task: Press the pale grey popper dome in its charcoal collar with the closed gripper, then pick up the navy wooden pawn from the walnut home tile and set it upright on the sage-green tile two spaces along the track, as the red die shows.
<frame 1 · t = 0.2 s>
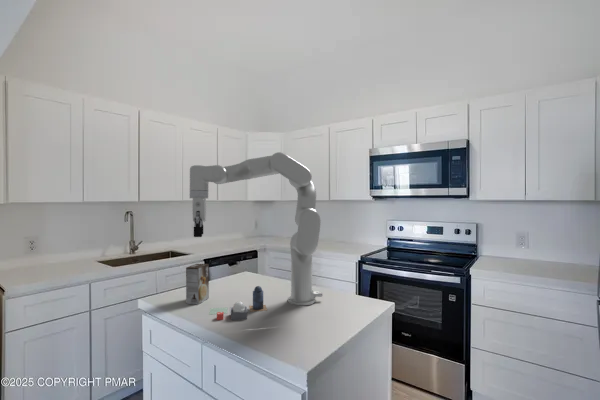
hand: (198, 235, 128), 31 cm above the worktop, tool pointing down, fingers open, 9 cm apart
coffee box: (197, 301, 138), on the worktop
game board: (238, 313, 122), on the worktop
popper dome: (238, 308, 118), point 4 cm above the worktop, slide at 0.0 cm
pawn: (258, 308, 127), resting on game board
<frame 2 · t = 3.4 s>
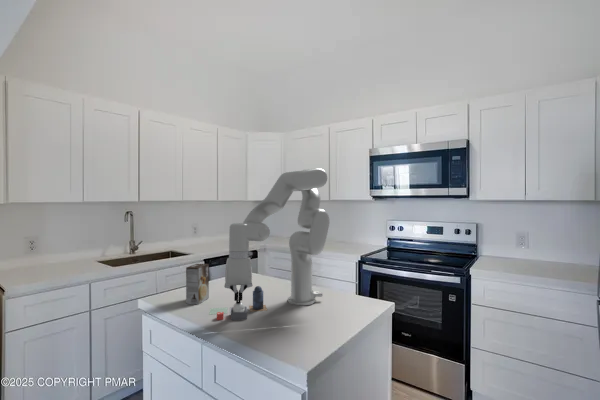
hand: (238, 302, 118), 6 cm above the worktop, tool pointing down, fingers closed
popper dome: (238, 309, 118), point 3 cm above the worktop, slide at 0.3 cm, touching gripper
everything else where it was.
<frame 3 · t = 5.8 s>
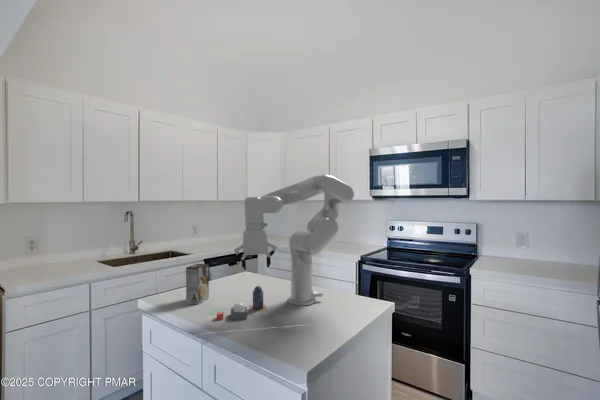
hand: (256, 267, 126), 18 cm above the worktop, tool pointing down, fingers open, 9 cm apart
popper dome: (238, 309, 118), point 3 cm above the worktop, slide at 0.4 cm
everything else where it was.
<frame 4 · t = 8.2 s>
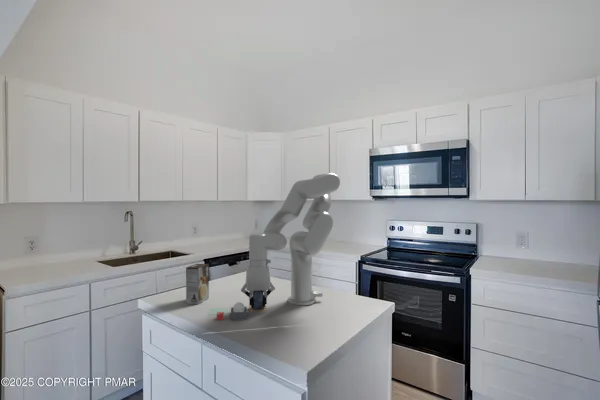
hand: (258, 306, 127), 1 cm above the worktop, tool pointing down, fingers closed on pawn, 4 cm apart
pawn: (258, 308, 127), resting on game board, touching gripper
everything else where it was.
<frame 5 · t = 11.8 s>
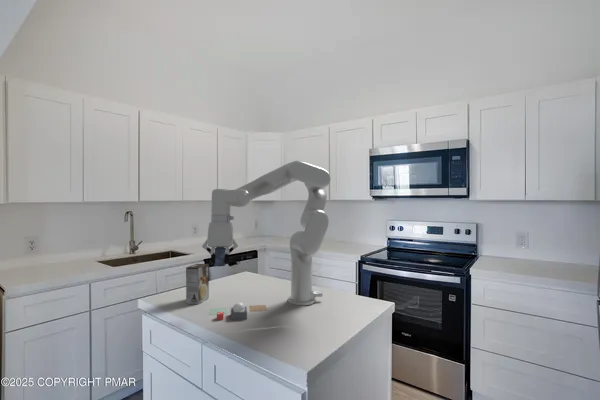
hand: (219, 263, 124), 20 cm above the worktop, tool pointing down, fingers closed on pawn, 4 cm apart
pawn: (219, 265, 124), point 19 cm above the worktop, touching gripper
everything else where it was.
when the fingers open (3 cm above the worktop, at t = 15.4 s): pawn drops 1 cm, resting on game board.
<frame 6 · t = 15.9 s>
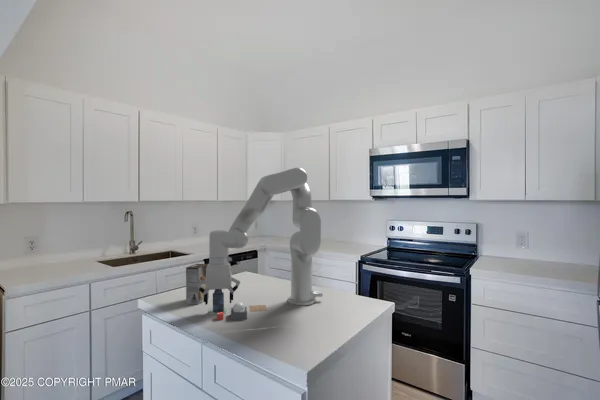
hand: (218, 302, 124), 4 cm above the worktop, tool pointing down, fingers open, 9 cm apart
pawn: (218, 310, 124), resting on game board
everything else where it was.
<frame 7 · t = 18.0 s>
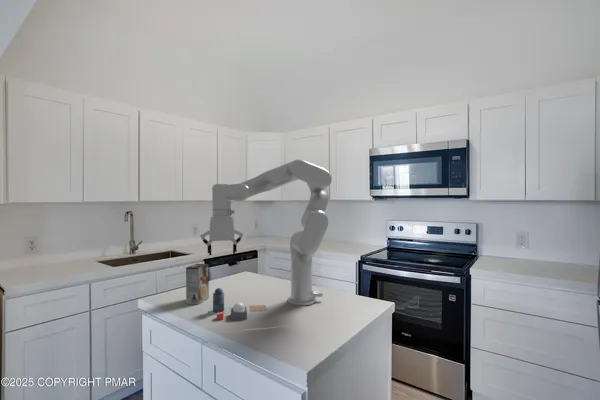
hand: (222, 254, 127), 23 cm above the worktop, tool pointing down, fingers open, 9 cm apart
nothing on the worktop moved.
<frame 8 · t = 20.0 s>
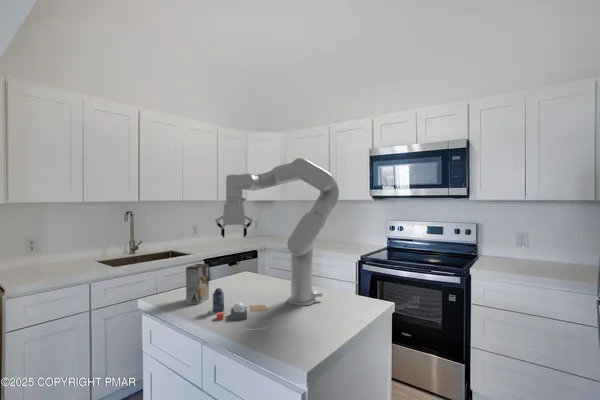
hand: (234, 237, 143), 28 cm above the worktop, tool pointing down, fingers open, 9 cm apart
nothing on the worktop moved.
at the end: pawn 0.1 cm from the target spot, resting on game board; pawn tilted 1°; the gripper is holding nothing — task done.
